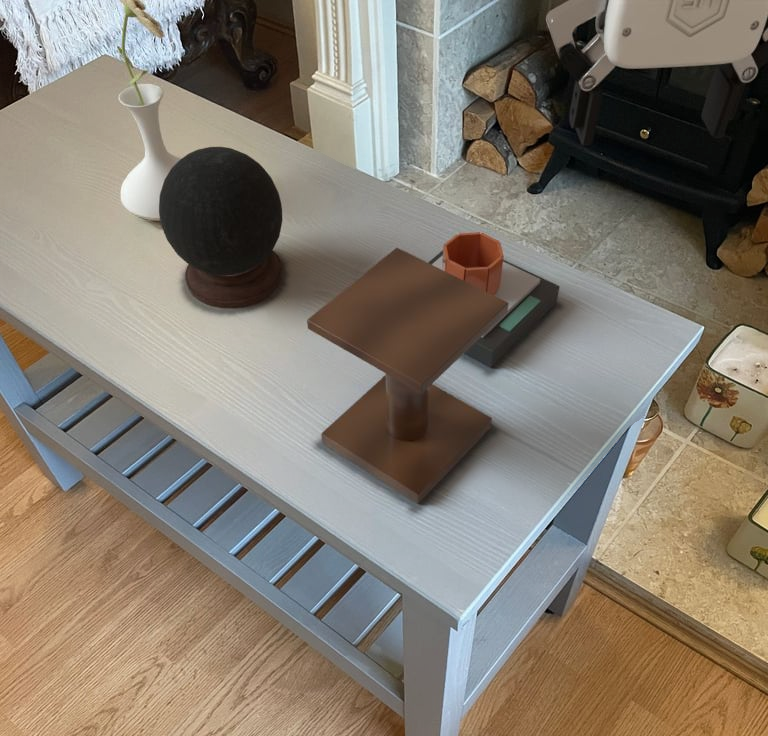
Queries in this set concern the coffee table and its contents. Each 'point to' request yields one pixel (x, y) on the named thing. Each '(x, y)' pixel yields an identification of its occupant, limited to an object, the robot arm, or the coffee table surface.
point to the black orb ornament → (223, 226)
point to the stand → (407, 369)
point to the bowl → (474, 260)
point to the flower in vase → (144, 129)
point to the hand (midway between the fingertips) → (647, 131)
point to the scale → (512, 310)
